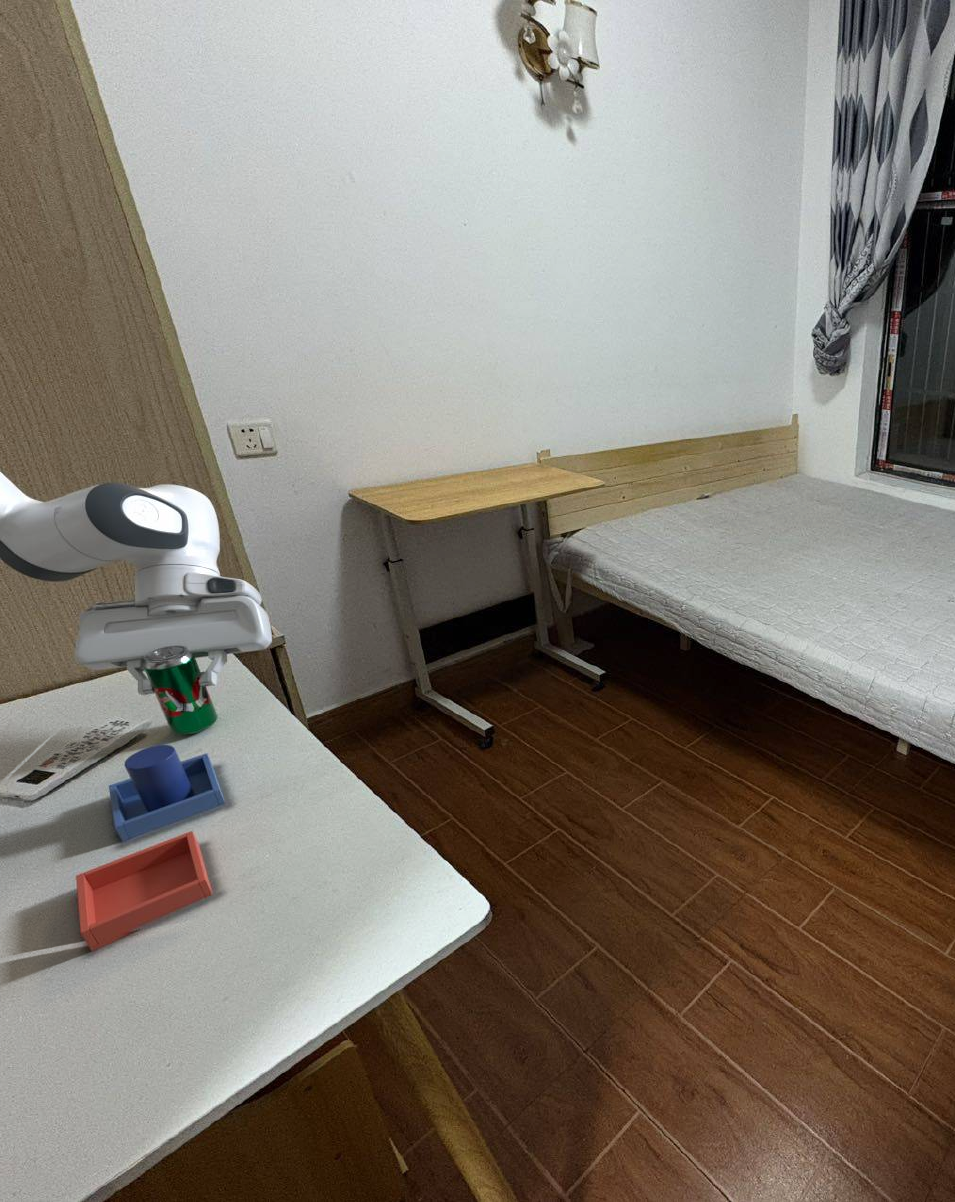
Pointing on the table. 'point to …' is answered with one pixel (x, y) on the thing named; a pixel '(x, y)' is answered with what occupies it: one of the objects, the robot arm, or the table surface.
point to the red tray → (140, 889)
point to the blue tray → (138, 821)
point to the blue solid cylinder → (158, 777)
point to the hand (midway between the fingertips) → (178, 689)
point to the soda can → (180, 689)
